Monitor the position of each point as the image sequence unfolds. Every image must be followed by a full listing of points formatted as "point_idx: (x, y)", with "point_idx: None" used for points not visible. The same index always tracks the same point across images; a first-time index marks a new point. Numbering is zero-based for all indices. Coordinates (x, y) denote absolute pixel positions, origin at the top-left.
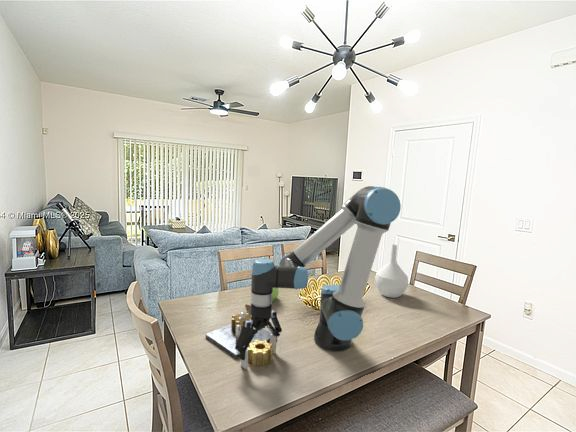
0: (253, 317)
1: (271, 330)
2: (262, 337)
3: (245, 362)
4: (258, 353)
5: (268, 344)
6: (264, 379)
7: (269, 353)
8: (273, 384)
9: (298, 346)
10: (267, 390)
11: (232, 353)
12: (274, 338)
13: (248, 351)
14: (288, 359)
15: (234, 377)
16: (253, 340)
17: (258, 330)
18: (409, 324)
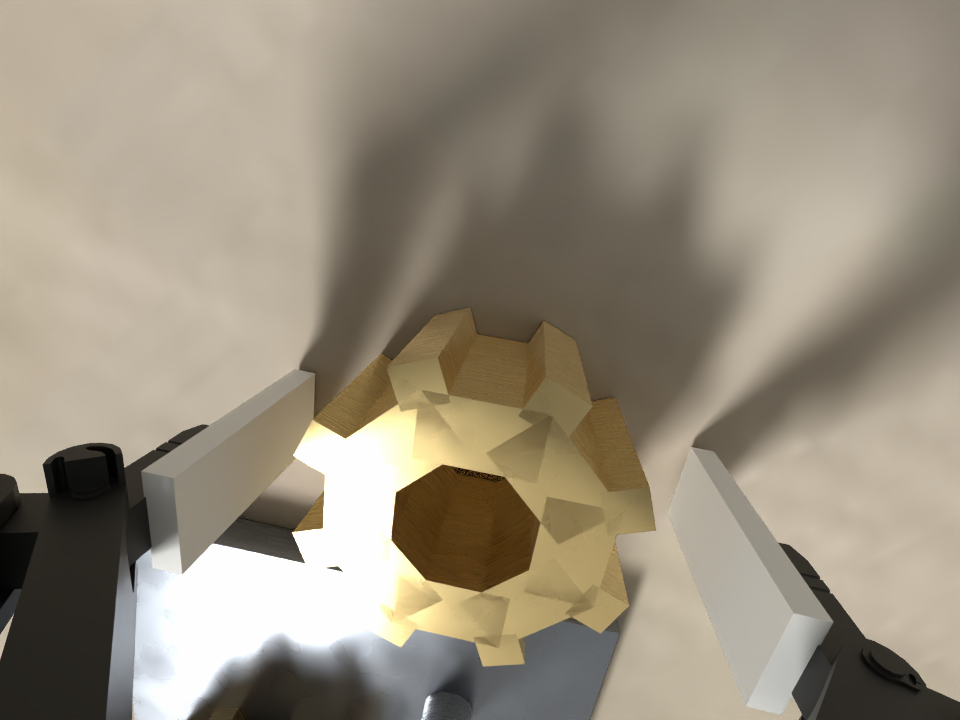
0: None
1: (121, 634)
2: (226, 595)
3: (741, 501)
4: (595, 466)
5: (347, 470)
6: (758, 187)
7: (455, 363)
8: (794, 25)
9: (29, 239)
10: (945, 10)
11: (603, 666)
12: (195, 474)
13: (622, 586)
14: (281, 186)
15: (877, 464)
16: (324, 631)
17: (177, 671)
18: None
